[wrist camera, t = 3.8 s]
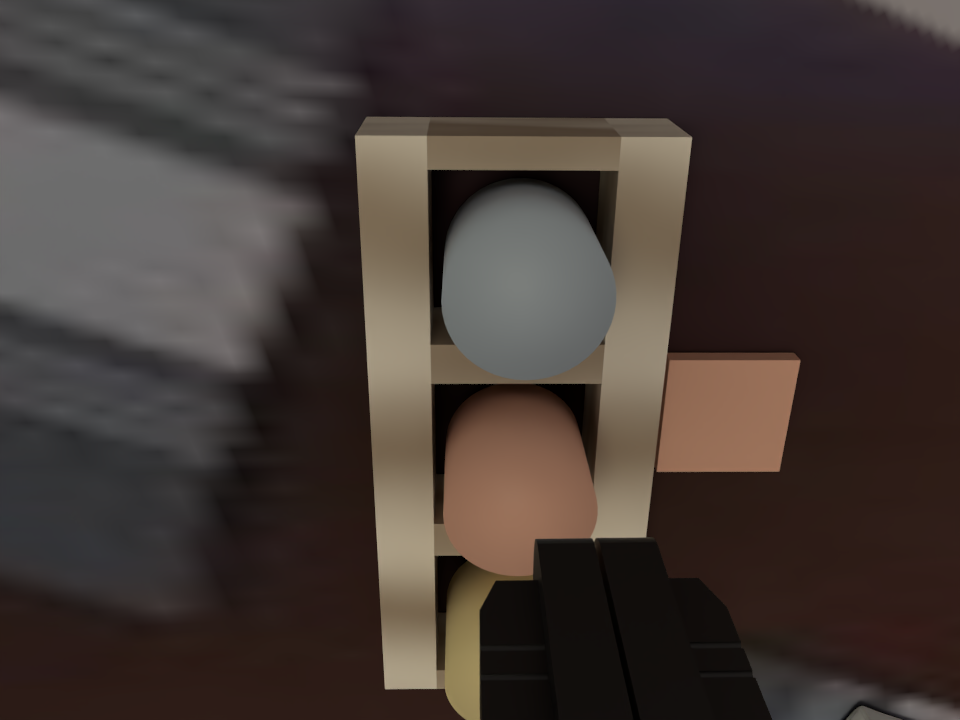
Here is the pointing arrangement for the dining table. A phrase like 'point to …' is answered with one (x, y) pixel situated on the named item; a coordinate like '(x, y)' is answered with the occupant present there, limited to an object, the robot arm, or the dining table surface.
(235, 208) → the dining table surface
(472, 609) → the ochre button
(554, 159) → the button panel
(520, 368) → the slate-grey button
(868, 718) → the skincare box
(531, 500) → the terracotta button
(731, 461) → the tile
